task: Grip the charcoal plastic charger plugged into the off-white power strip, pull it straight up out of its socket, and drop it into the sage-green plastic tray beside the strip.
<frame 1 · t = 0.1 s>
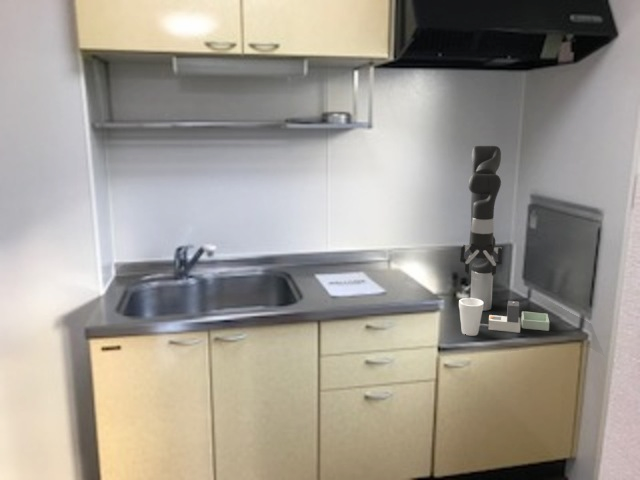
hand: (480, 274, 193), 29 cm above the worktop, tool pointing down, fingers open, 8 cm apart
tray: (534, 324, 220), on the worktop
foam cup: (469, 332, 214), on the worktop
charger: (512, 324, 216), point 2 cm above the worktop, touching power strip
power strip: (504, 328, 217), on the worktop
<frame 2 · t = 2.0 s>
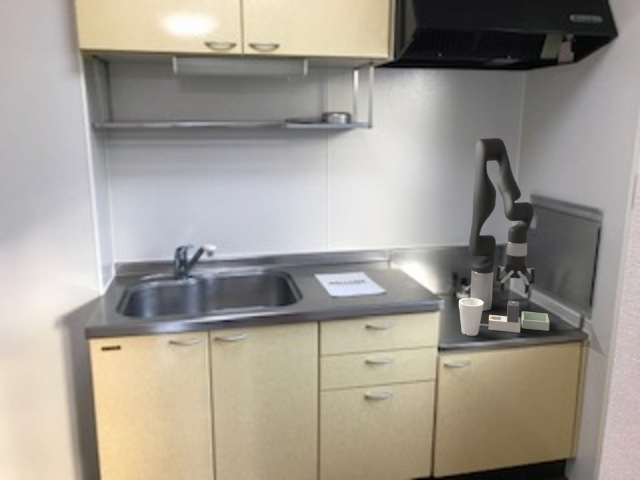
hand: (514, 292, 213), 16 cm above the worktop, tool pointing down, fingers open, 8 cm apart
nothing on the worktop moved.
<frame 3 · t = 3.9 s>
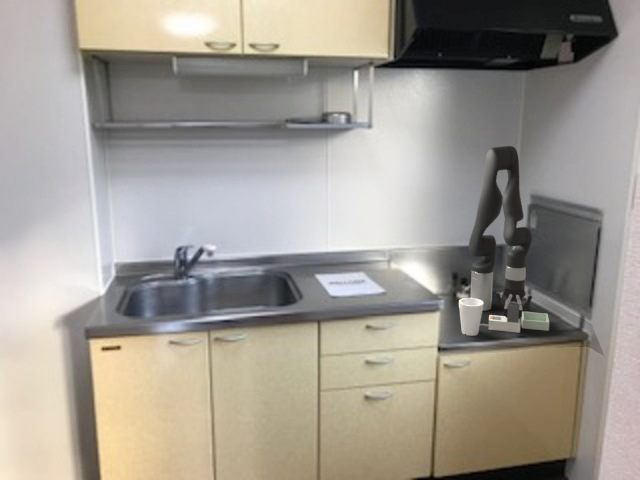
hand: (512, 317, 215), 5 cm above the worktop, tool pointing down, fingers closed on charger, 4 cm apart
charger: (512, 324, 216), point 2 cm above the worktop, touching gripper, power strip
everything else where it was.
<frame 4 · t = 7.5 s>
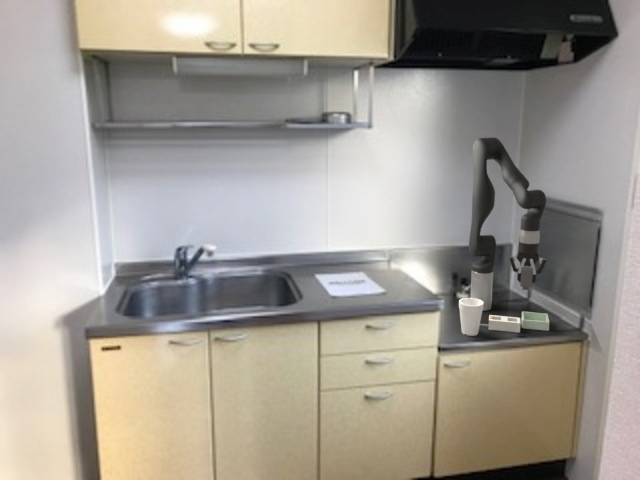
hand: (526, 282, 214), 19 cm above the worktop, tool pointing down, fingers closed on charger, 4 cm apart
charger: (525, 289, 214), point 16 cm above the worktop, touching gripper
everything else where it was.
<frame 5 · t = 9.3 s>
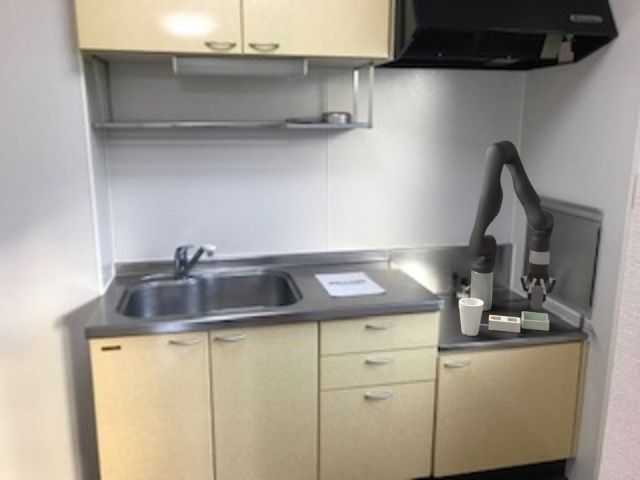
hand: (536, 301, 217), 10 cm above the worktop, tool pointing down, fingers closed on charger, 4 cm apart
charger: (535, 308, 218), point 7 cm above the worktop, touching gripper
everything else where it was.
when the fingers open (5 cm above the worktop, at t = 10.9 s): charger drops 2 cm, resting on tray.
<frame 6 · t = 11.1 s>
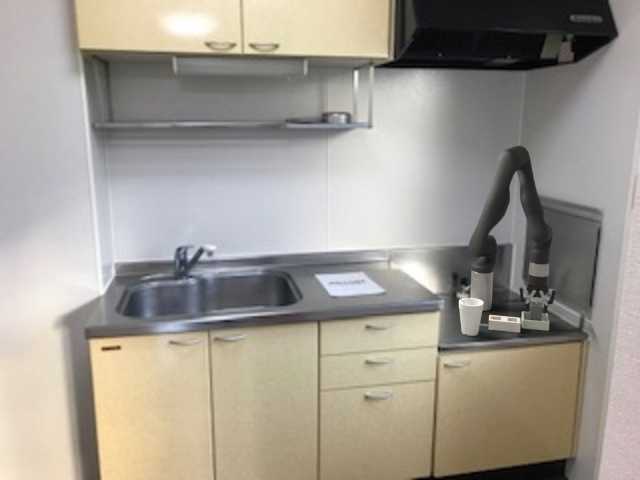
hand: (535, 312, 219), 6 cm above the worktop, tool pointing down, fingers open, 6 cm apart
charger: (534, 324, 220), resting on tray
everything else where it was.
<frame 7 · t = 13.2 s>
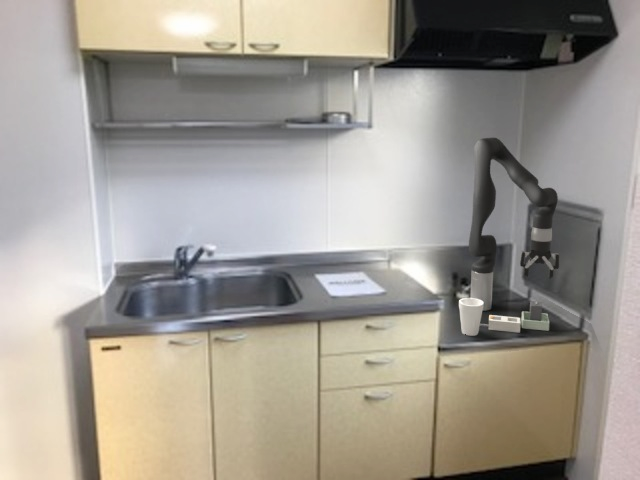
hand: (538, 277, 215), 20 cm above the worktop, tool pointing down, fingers open, 8 cm apart
nothing on the worktop moved.
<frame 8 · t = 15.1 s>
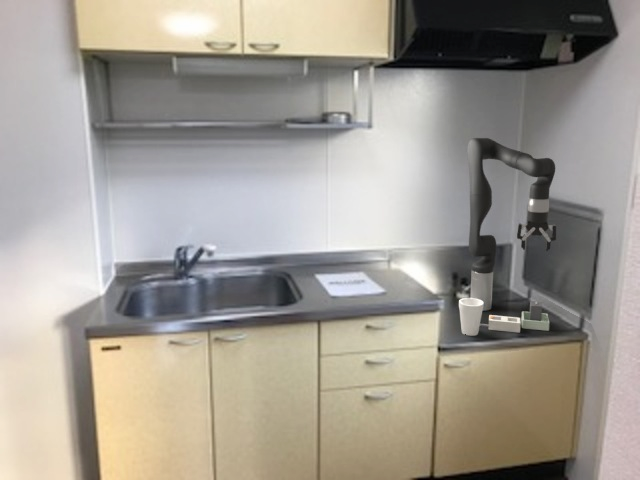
hand: (535, 249, 212), 32 cm above the worktop, tool pointing down, fingers open, 8 cm apart
nothing on the worktop moved.
at the end: charger inside the target area on the tray (0.0 cm from its centre), point 0.2 cm above the tray's base; the gripper is holding nothing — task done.
